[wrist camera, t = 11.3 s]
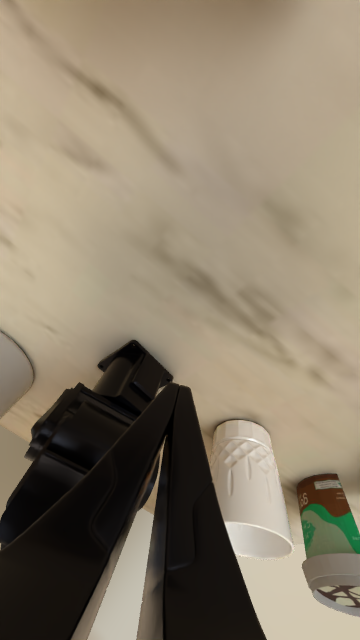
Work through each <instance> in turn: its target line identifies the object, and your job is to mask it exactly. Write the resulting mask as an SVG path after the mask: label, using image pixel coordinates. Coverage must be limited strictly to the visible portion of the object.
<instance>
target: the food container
mask: <svg viewBox="0 0 360 640" xmlns="http://www.w3.org/2000/svg"><path fill="white" fill-rule="evenodd" d="M297 495H298V502H299V509H300V516H301V523H302V530H303V537H304V544H305V551H306V557H307V559H306V560H305V561H304V562H303V564H302V569H303V571H304V574H305V577H306V580H307V583H308V586H309V588H310V589H311V590H312V593H313V596H314V598H315V599H316V600H317V601H319V602H320V603H322V604H324V605H326V606H327V607H330V608H332V609H335V610H337V611H340V612H343V613H346V614H349V615H353V616H357V617H360V533H359V531H358V528H357V526H356V523H355V520H354V518H353V515H352V512H351V510H350V507H349V504H348V502H347V499H346V497H345V494H344V491H343V489H342V486H341V483H340V481H339V478H338V475H337V474H323V475H316V476H312V477H309V478H306V479H304V480H303V481H301V482H300V483H299V484H298V486H297Z"/></svg>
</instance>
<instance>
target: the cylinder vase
mask: <svg viewBox="0 0 360 640" xmlns="http://www.w3.org/2000/svg"><path fill="white" fill-rule="evenodd" d="M32 382H33V370H32V367H31V364H30V362H29V360H28V358H27V357H26V355H25V354H24V352H23V351H22V350H21V349H20V348H19V347H18V345H17V344H16V343H14V342H13V341H12V340H11V339H10V338H9V337H7V336H6V335H5V334H3V333H2V332H0V419H1V418H2V417H3V416H4V415H5V414H6V413H7V411H8V410H9V409H10V408H11V407H12V406H13V405H14V404H15V403H16V402H17V401H18V400H19V399H20V398H21V397H22V396H23V395H24V394H25V393H26V392H27V391H28V390H29V388H30V387H31V385H32Z"/></svg>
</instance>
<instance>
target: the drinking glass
mask: <svg viewBox="0 0 360 640" xmlns="http://www.w3.org/2000/svg"><path fill="white" fill-rule="evenodd" d="M210 470H211V475H212V479H213V481H212V482H213V483H214V486H215V490H216V495H217V498H218V502H219V506H220V509H221V513H222V517H223V520H224V523H225V526H226V529H227V532H228V535H229V538H230V541H231V544H232V547H233V550H234V553H235V555H239V556H243V557H248V558H253V559H263V560H275V559H281V558H286V557H288V556H290V555H291V554H293V552H294V544H293V539H292V534H291V530H290V525H289V520H288V515H287V510H286V505H285V500H284V495H283V490H282V486H281V482H280V477H279V473H278V468H277V465H276V461H275V458H274V455H273V450H272V445H271V440H270V435H269V433H268V432H267V431H266V430H265V429H264V428H263V427H262V426H260V425H258V424H255V423H253V422H251V421H244V420H232V421H226V422H224V423H222V424H221V425H219V426H218V427H217V428H216V430H215V432H214V438H213V448H212V453H211V458H210Z"/></svg>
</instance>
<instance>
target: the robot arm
mask: <svg viewBox="0 0 360 640" xmlns="http://www.w3.org/2000/svg"><path fill="white" fill-rule="evenodd" d="M133 344H134V345H135V346H134V345H133ZM98 368H99V369H101V370H102V371H103V372H104V373H103V375H102V377H101V378H100V380H99V381H98V383H97V384H96V386H95V387H94V389H93V390H90V389H88V388H87V387H85V386H84V384H82V383H80V382H79V383H78V384H77V385H76V387H75V388H74V389H73V388H71V389H66V390H65V391H64V392H63V394H62V395H61V396H60V397H59V399H58V400H57V401H56V402H55V403H54V405H53V406H52V407H51V408H50V409H49V410H48V411H47V412H46V413H45V414H44V415H43V416H42V417H41V418H40V419H39V420H38V421H37V422H36V423H35V424H34V426H33V427H32V429H31V434H32V440H31V442H30V444H29V445H30V448H29V449H28V451H27V452H26V454H25V456H24V457H25V458H26V459H28V460H30V461H33V463H32V464H31V466H30V467H29V469H28V470H27V472H26V473H25V475H24V476H23V478H22V479H21V481H20V482H19V484H18V485H17V487H16V488H15V490H14V491H13V493H12V494H11V496H10V497H9V499H8V501H7V505H6V510H5V511H4V513H3V515H2V517H1V520H0V543H1V550H0V640H87V639H88V636H89V633H90V631H91V628H92V626H93V623H94V621H95V618H96V616H97V613H98V610H99V608H100V605H101V603H102V600H103V597H104V595H105V592H106V589H107V587H108V585H109V582H110V579H111V577H112V574H113V572H114V569H115V567H116V564H117V562H118V559H119V556H120V554H121V551H122V548H123V546H124V543H125V541H126V538H127V536H128V533H129V531H130V528H131V526H132V523H133V521H134V518H135V515H136V513H137V511H139V510H140V509H141V508H142V507H143V506H144V504H145V503H146V501H147V500H148V498H149V496H150V494H151V492H152V489H153V487H154V484H155V481H156V478H157V474H158V469H159V461H160V451H161V449H162V446H163V443H164V440H165V443H164V449H163V456H162V463H161V471H160V478H159V485H158V492H157V499H156V506H155V513H154V520H153V527H152V534H151V541H150V549H149V555H148V562H147V569H146V577H145V583H144V590H143V598H142V601H143V602H142V604H141V612H140V619H139V625H138V632H137V639H136V640H267V639H266V637H265V634H264V632H263V630H262V628H261V625H260V623H259V621H258V618H257V615H256V613H255V610H254V608H253V605H252V602H251V599H250V596H249V594H248V590H247V588H246V585H245V582H244V579H243V576H242V573H241V570H240V568H239V565H238V562H237V559H236V556H235V553H234V550H233V547H232V544H231V541H230V538H229V535H228V532H227V529H226V526H225V523H224V520H223V517H222V513H221V509H220V506H219V502H218V498H217V495H216V490H215V486H214V483H213V482H212V481H213V479H212V475H211V470H210V466H209V462H208V458H207V454H206V450H205V446H204V442H203V438H202V434H201V430H200V425H199V421H198V417H197V413H196V409H195V405H194V401H193V397H192V393H191V389H190V388H189V387H187V386H183V385H180V386H179V384H176V383H173V382H172V380H173V376H172V375H171V374H170V373H169V372H168V371H167V370H166V369H165V368H164V367H163V366H162V365H161V364H160V363H159V362H158V361H157V360H156V359H155V358H154V357H153V356H152V355H151V354H150V353H149V352H148V351H147V350H146V349H144V348H143V347H142V346H141V345H140V344H139V343H138V342H137V341H136V340H132V341H130V342H128V343H127V344H125V345H124V346H122V347H121V348H119V349H118V350H116V351H115V352H113V353H112V354H110V355H109V356H108V357H106V358H105V359H103V360H102V361H100V362H99V364H98ZM168 378H169V379H168ZM165 385H166V386H165ZM163 386H165V387H164V389H163V390H162V391H161V392H160V393H159V394H158V395H157V396H156V394H157V391H158V389H159V388H161V387H163ZM155 397H156V398H155ZM165 437H166V438H165Z"/></svg>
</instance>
